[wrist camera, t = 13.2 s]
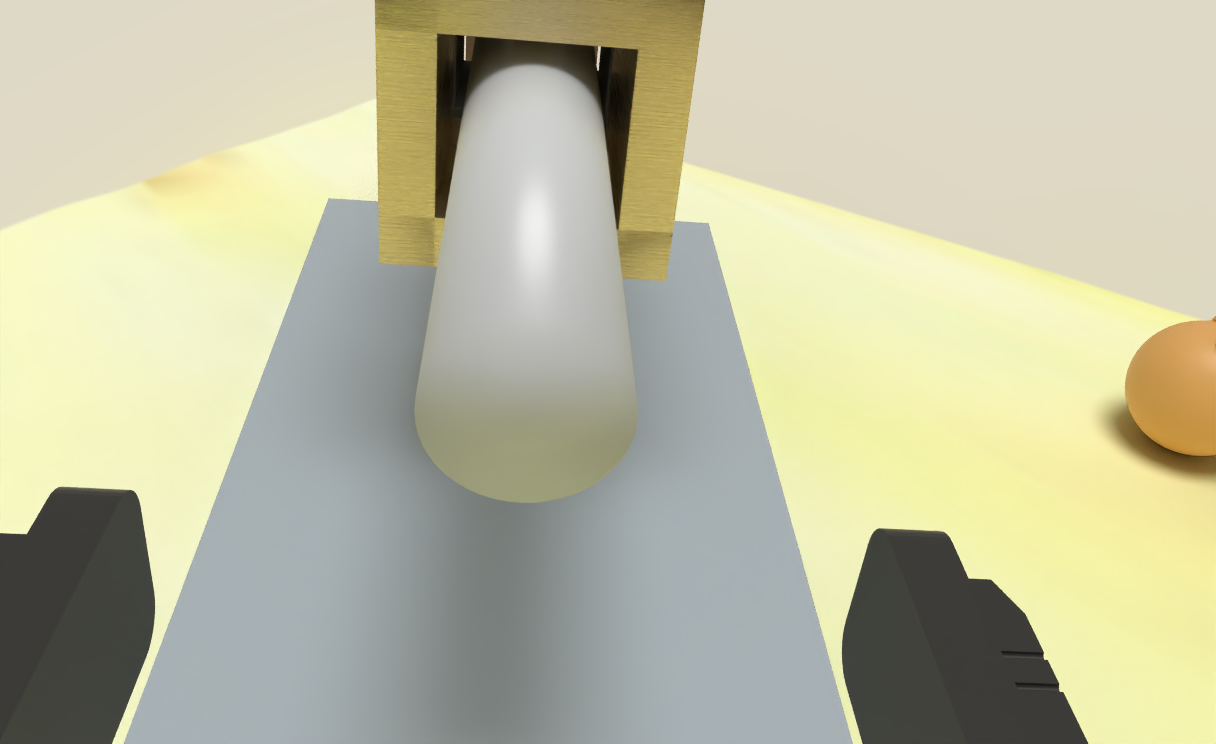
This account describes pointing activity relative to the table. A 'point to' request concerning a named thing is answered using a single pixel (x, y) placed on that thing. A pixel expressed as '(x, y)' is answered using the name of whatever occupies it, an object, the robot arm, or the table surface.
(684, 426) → the pipe rig
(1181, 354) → the figurine
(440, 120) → the sleeve
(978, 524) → the table surface
